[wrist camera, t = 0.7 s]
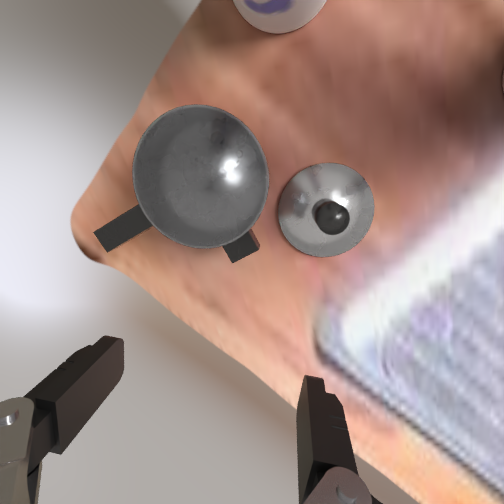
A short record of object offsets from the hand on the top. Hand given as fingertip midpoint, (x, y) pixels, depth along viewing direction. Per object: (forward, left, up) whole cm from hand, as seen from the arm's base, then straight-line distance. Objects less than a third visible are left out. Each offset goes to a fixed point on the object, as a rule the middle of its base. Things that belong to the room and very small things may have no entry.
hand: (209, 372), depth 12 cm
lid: (-9, 0, -22) cm, 24 cm away
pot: (+3, -8, -22) cm, 24 cm away
